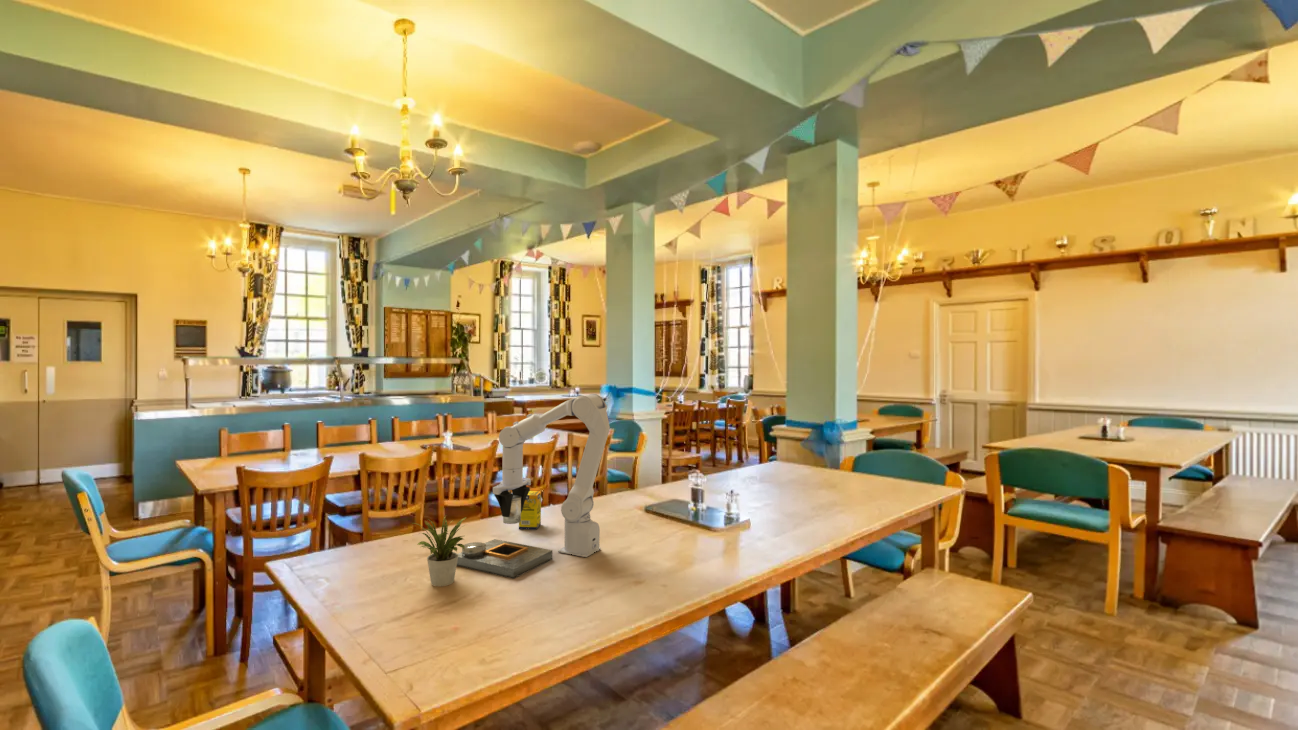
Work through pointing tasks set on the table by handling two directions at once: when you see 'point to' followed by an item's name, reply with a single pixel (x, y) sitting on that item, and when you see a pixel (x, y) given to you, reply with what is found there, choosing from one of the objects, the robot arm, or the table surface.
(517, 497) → the spout can
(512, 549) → the grey block with opening
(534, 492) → the supplement box
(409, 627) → the table surface
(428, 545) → the house plant
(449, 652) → the table surface
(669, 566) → the table surface
